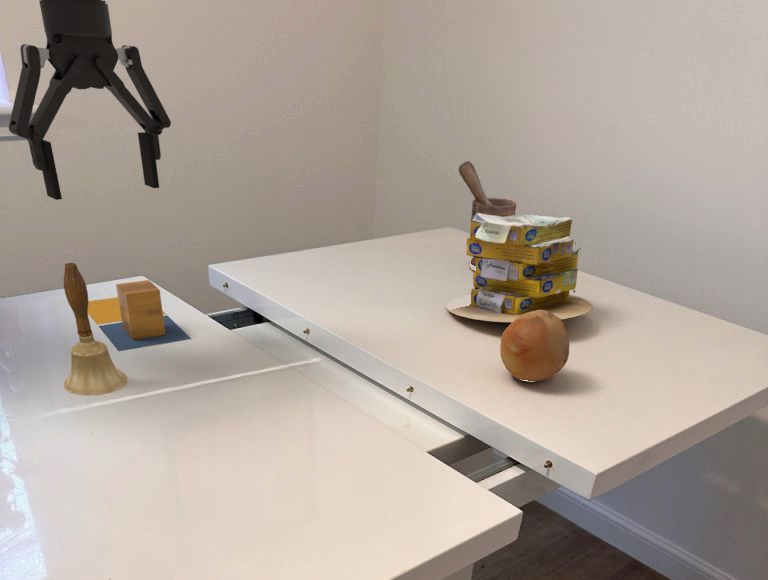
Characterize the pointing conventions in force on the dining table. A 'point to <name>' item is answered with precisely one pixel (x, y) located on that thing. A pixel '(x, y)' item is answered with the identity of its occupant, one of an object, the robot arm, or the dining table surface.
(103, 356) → the hand bell
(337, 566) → the dining table surface
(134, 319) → the block
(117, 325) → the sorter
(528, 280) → the stacked boxes on plate
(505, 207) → the mortar and pestle
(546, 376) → the onion
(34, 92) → the robot arm
